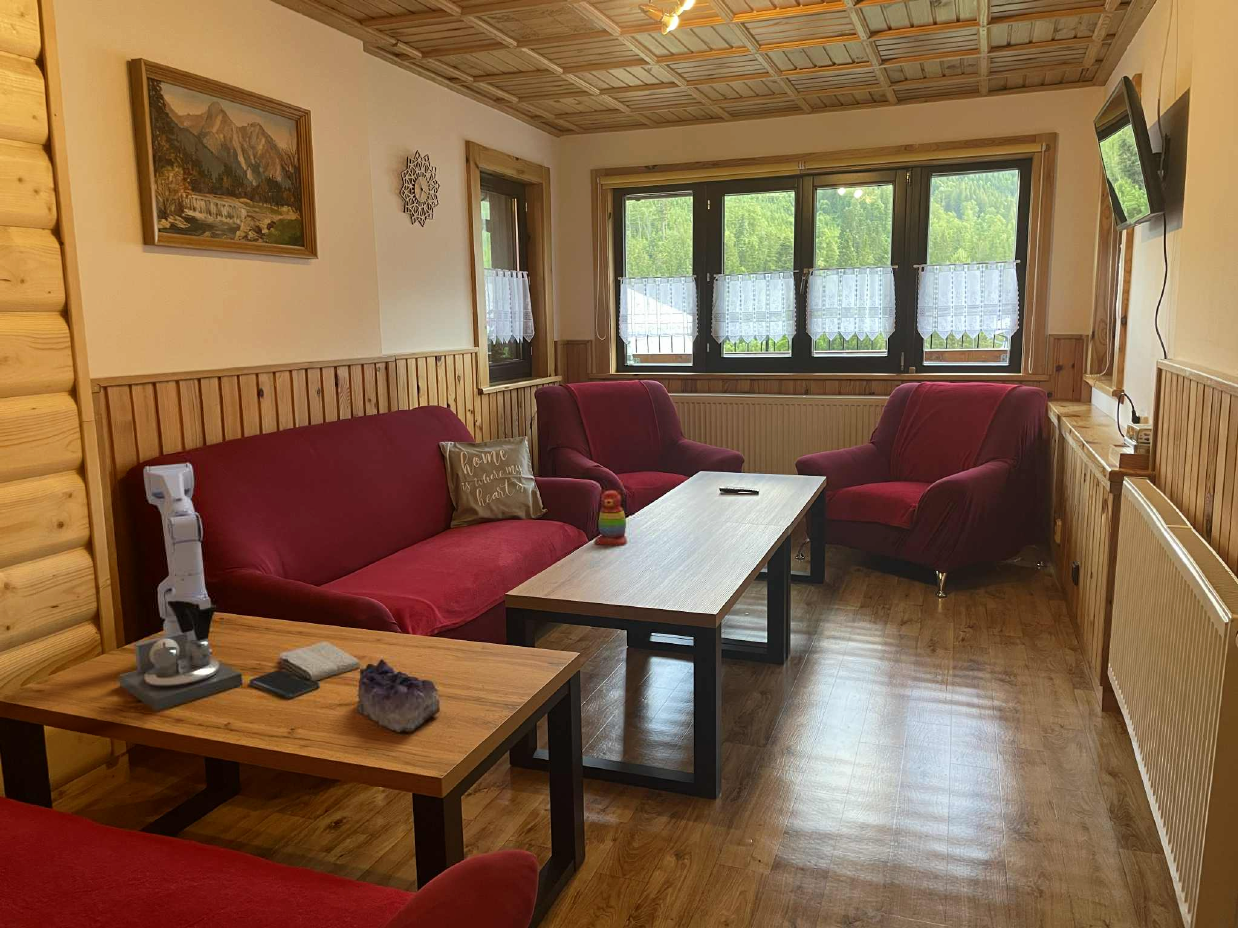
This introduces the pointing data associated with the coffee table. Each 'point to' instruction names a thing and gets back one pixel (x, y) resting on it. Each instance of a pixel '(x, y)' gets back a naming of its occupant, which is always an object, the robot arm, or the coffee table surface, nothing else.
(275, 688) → the phone
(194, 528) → the robot arm
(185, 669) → the pan
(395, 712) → the geode
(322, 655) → the washcloth
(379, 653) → the coffee table surface
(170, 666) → the cylinder
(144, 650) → the scale
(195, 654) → the cylinder
